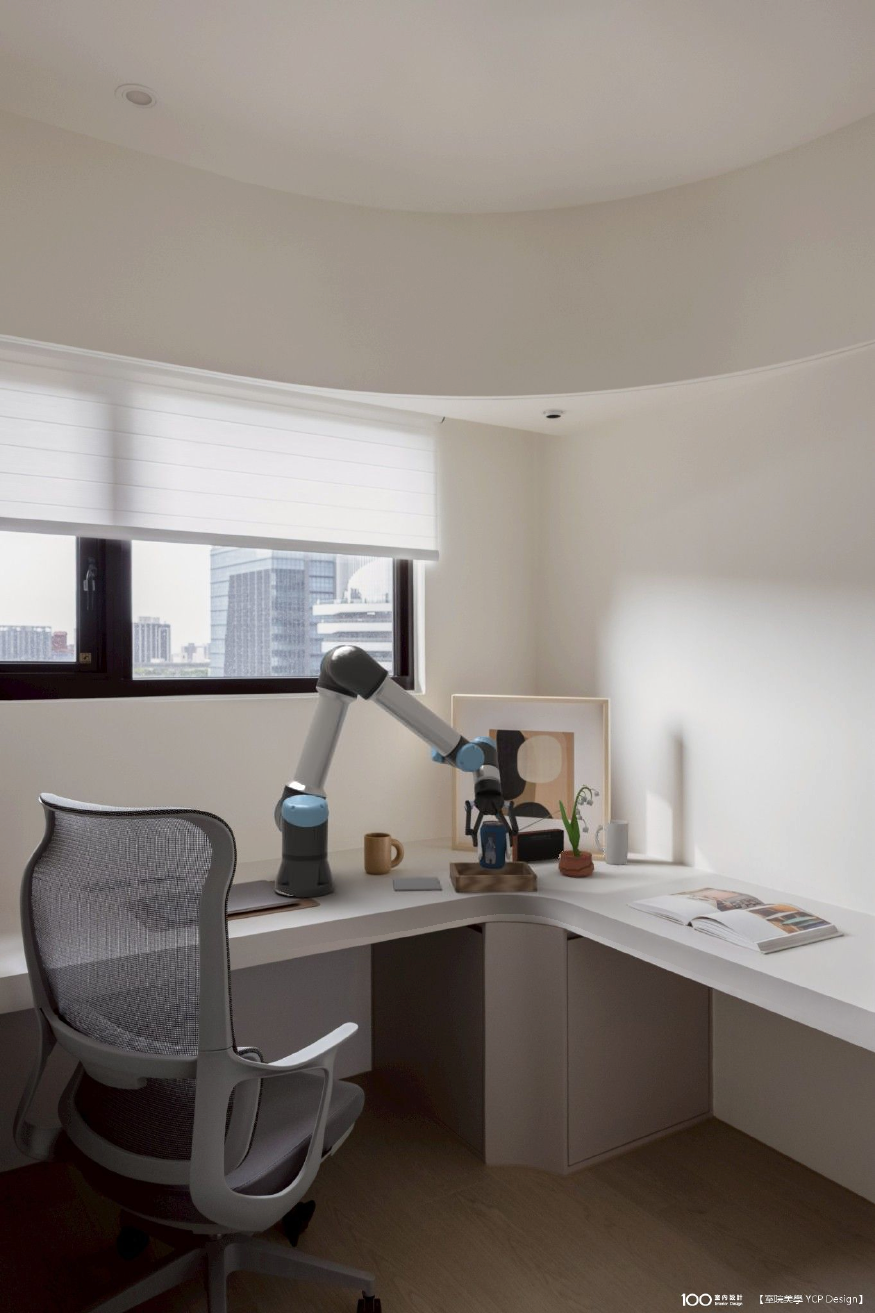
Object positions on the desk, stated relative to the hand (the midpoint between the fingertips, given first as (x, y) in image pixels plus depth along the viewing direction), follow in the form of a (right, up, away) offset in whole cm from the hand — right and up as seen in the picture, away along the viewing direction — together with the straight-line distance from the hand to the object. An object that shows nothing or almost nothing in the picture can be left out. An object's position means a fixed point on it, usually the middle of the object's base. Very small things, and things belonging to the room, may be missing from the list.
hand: (494, 856), depth 237 cm
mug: (+36, -9, +31) cm, 48 cm away
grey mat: (-20, -8, +2) cm, 22 cm away
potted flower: (+25, -8, +16) cm, 30 cm away
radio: (+16, -8, +33) cm, 38 cm away
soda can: (0, -4, +4) cm, 5 cm away
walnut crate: (-1, -8, +3) cm, 9 cm away
